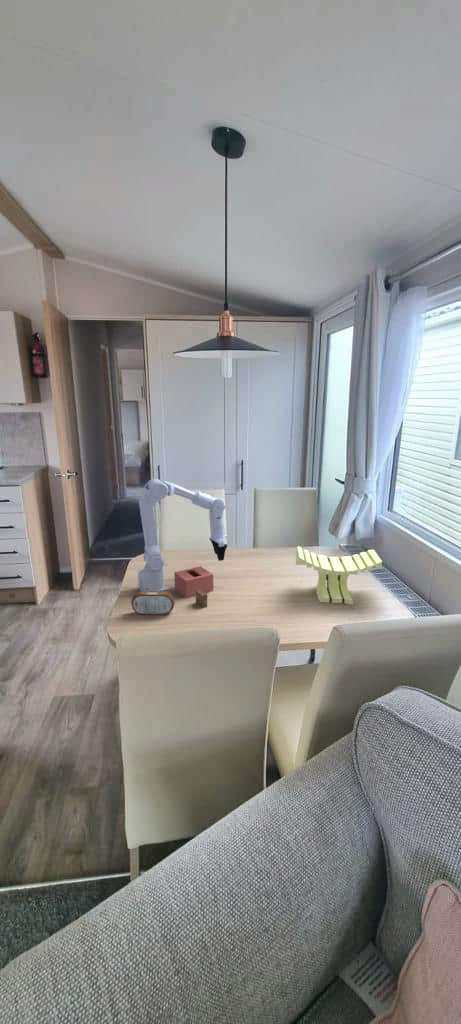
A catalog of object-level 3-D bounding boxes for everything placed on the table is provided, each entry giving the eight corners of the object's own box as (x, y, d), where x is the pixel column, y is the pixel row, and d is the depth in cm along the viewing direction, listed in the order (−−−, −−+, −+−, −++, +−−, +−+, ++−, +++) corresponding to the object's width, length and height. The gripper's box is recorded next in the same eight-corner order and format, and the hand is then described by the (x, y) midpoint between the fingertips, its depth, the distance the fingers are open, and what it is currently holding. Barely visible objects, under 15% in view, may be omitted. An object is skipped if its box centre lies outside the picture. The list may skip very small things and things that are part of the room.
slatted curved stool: (367, 588, 179) (371, 547, 174) (377, 605, 163) (382, 561, 159) (294, 584, 181) (296, 543, 176) (297, 601, 165) (299, 557, 161)
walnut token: (202, 608, 159) (202, 595, 158) (195, 602, 163) (195, 590, 162) (207, 606, 160) (207, 594, 159) (200, 601, 164) (200, 589, 163)
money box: (186, 597, 167) (186, 580, 165) (174, 588, 175) (174, 572, 173) (213, 590, 173) (213, 574, 172) (200, 582, 181) (200, 566, 180)
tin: (174, 611, 156) (174, 590, 154) (174, 615, 153) (173, 593, 151) (132, 611, 155) (131, 589, 153) (131, 615, 152) (130, 593, 150)
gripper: (230, 530, 172) (232, 562, 176) (223, 520, 186) (225, 549, 190) (212, 532, 171) (215, 564, 175) (206, 522, 185) (209, 551, 189)
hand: (219, 556), depth 182 cm, fingers open, 7 cm apart
